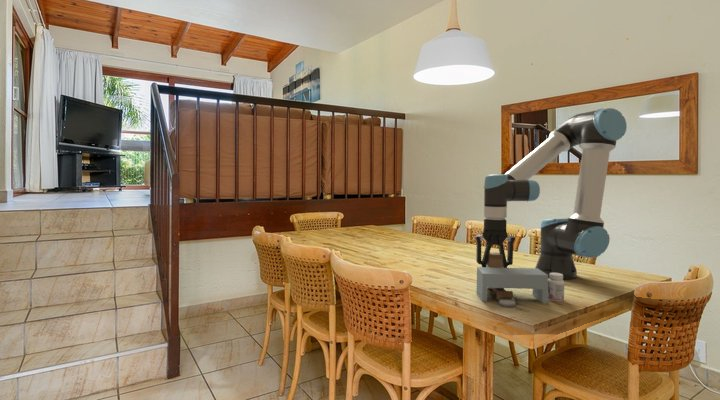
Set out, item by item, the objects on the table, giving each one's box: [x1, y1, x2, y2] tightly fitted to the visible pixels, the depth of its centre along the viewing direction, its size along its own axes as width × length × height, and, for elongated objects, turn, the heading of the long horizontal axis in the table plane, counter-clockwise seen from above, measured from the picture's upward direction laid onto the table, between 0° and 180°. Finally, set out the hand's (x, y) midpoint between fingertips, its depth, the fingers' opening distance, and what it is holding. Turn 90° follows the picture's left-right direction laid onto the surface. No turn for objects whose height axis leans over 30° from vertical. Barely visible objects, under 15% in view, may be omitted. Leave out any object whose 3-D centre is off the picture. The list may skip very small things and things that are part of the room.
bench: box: [476, 266, 549, 304], centre depth 126 cm, size 20×9×9 cm, turn 84°
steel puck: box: [498, 297, 517, 309], centre depth 120 cm, size 5×5×2 cm
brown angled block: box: [487, 251, 514, 301], centre depth 130 cm, size 17×5×12 cm, turn 174°
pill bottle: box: [547, 273, 565, 302], centre depth 125 cm, size 5×5×8 cm
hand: (493, 283), depth 136 cm, fingers closed on brown angled block, 4 cm apart
